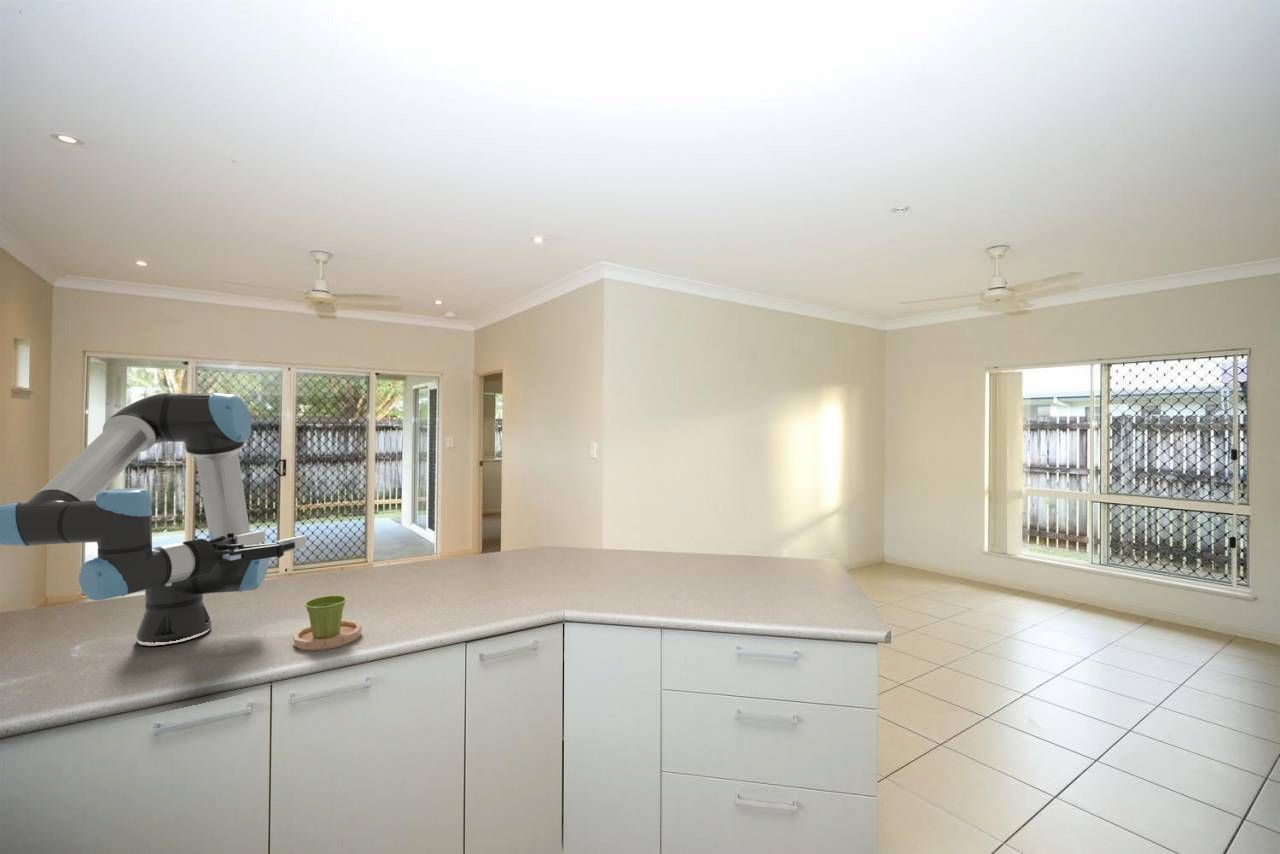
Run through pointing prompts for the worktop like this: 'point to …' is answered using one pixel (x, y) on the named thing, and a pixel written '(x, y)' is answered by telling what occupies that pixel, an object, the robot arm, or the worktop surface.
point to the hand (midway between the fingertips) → (284, 538)
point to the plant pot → (325, 615)
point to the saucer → (344, 637)
